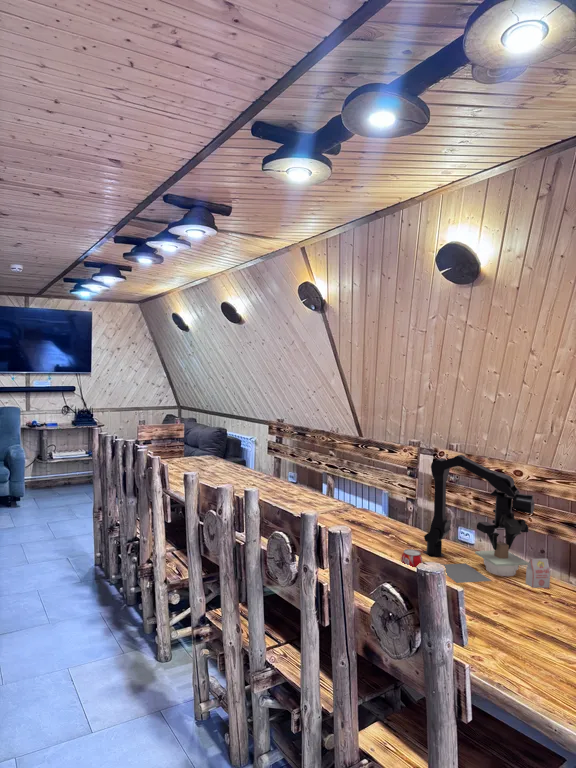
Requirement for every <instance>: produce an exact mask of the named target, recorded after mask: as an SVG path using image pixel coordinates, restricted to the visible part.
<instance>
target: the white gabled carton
mask: <svg viewBox="0 0 576 768" xmlns="http://www.w3.org/2000/svg"><path fill="white" fill-rule="evenodd" d="M528 563H529V564H528V565H526V569H525V570H526V571H525V584H526V585H528V586H529V587H530V588H534V589H536V588H542V589H544V590H545V589H546V590H547V589H550V586H551V585H550V583H551V582H550V581H551V569H550V565H549V559H548V558H530V559H529V562H528Z"/></svg>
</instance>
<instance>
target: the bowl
mask: <svg viewBox="0 0 576 768" xmlns="http://www.w3.org/2000/svg"><path fill="white" fill-rule="evenodd" d="M483 564H484V566H485V570H486V571H487V572H488V573H490V574H493V575H496V576H501V577H502V576H503V577H513V576H515V575H517V571H518V570H519V566H520V565H514V566H495V565H493V564H492V563H490V562H488V561H487V560H485V559H483Z"/></svg>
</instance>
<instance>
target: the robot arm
mask: <svg viewBox="0 0 576 768" xmlns="http://www.w3.org/2000/svg"><path fill="white" fill-rule="evenodd" d="M455 467H461V468H463V469H465V470H466V471H468V472H470V473H472V474H473V475H476V476H478V478H479V477H480V478H481V479H483V480H485V481H486V482H488V483H489V484H490V485H491V486H492V487H493V488H495V489H494V490H493V491H492V492H491V493H489V494H490V496H492V497H495V507H494V508H495V509H492V512H493V513H494V519H492V523H490V522H487V521H478V523H477V524H476V530H478V531H480V532H482V533H483V534H487V535H486V536H487V537H488V538H489V541H490V543H491V547H492V548H493V551H495V550H496V548H497V542H498V537H499V535H500V533H498V530H505V531H504V532H505V543H506V544H507V545H509V550H510V549H511V546H513V545H512V544H513V543H514V540H515V538H516V537H518V536H519V535H521V534H522V533H528V532H529V525H528V524H527V522H526V520H525V519H515V513H514V512H513V511H512V508H513V510H515V512H519V513H525V514H530V515H533V514H534V511H535V499H534V495H533V494H525V493H520V491H519V489H518V488H517V486H516V485H515V481H514V478H513V477H512V476H511V475H509V474H506V473H502V472H498V471H494V470H491V469H489V468H488V467H486V466H484V465H482V464H479V463H477V462H476V461H474V460H473V459H470V458H468V457H466V456H465V455H463V454H458V455H455V456H453V457H451V458H448V459H446V458H439V459H435V460H433V461H432V462H431V464H430V470H431V475H432V478H433V480H434V494H433V495H434V499H433V500H434V504H433V506H434V507H433V509H434V510H433V511H434V513H433V518H432V521H431V523H430V528H429V531H428V533H426V534H425V535H423V538H424V541H425V542H426V550H423V551H422V552H423V554H425V555H427V556H428V557H429V558H437V557H438V558H441V557H445V555H444V554H443V553H442V548H443V547H442V546H443V544H442V543H443V542H442V540H444V538H445V537H446V536H447V535H448V534H449V532H450V531H451V530H452V528H451V523H452V521H451V519H447V516H446V514H447V513H446V511H447V510H446V507H447V505H446V503H447V480H448V477H449V474H450V469H451V468H455Z"/></svg>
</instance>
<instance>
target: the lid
mask: <svg viewBox="0 0 576 768" xmlns="http://www.w3.org/2000/svg"><path fill="white" fill-rule="evenodd" d="M509 550H510V549H509V545H507V544H506V542H503V541H499V542H498V541H497V548H496V550H477V551H474V554H475V555H477V556H478V557H480V558H482V559H483V560H484V559H485V560H487V561H488V562H490V563H492V564H493V565H495V566H514V565H519V566H528V564H529V562H528V561H526V560H525V559H523V558H521V557H519V556H518V555H516V554H514V553H512V552H510V551H509Z"/></svg>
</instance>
